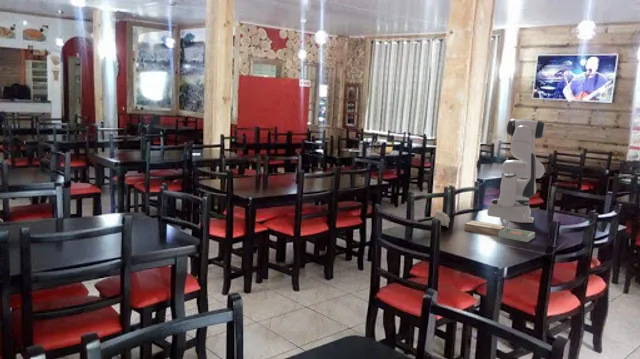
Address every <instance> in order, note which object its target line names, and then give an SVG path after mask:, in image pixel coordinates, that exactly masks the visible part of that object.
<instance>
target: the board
mask: <svg viewBox="0 0 640 359" xmlns="http://www.w3.org/2000/svg"><path fill="white" fill-rule="evenodd" d="M505 228H507V227H506V226H502V224H497V223H496V224H495V223H490V222H484V221H477V220H470V221H468V222H465V223H464V227H463V231H467V232H472V233H478V234H482V235H488V236H493V237H498V232H499V231H501V230H503V229H505Z"/></svg>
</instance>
